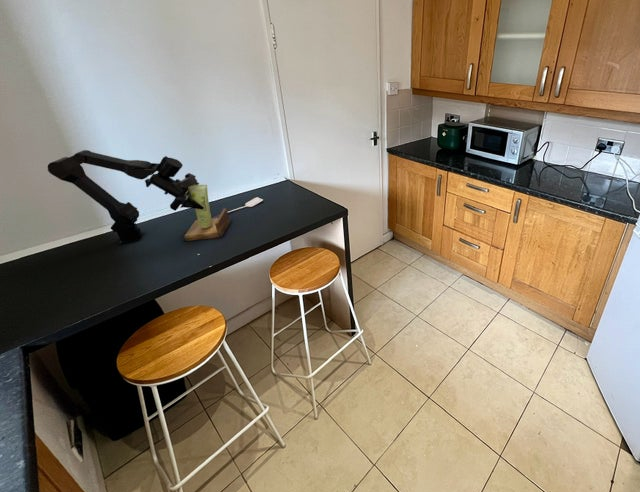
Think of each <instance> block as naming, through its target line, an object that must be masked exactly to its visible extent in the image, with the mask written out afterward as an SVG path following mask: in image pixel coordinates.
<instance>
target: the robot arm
mask: <svg viewBox="0 0 640 492" xmlns="http://www.w3.org/2000/svg"><path fill="white" fill-rule="evenodd" d="M82 164H86V165H89V166H95V167H100V168H104V169H108V170H113V171H118V172H122V173H124V174H125V175H127V176H128V177H130V178H134V179H136V180H144V183H145V187H146V188H149V187H150V186H152V185H153V186H154V187H156V188H158V189H160V190H162V191H163V192H164V193H163V194H164V195H168V194H169V195H171V196H172V197H173V198H174V199H173V201H172V202H171V203H170V205H169V207H170V209H171V210H173V211H174V212H176V211H177V210H178V209H179V208H181V209H182V208H186V209H194V210H195V209H203V208H204V207H203V206H202V205H200V204H199V203H197V202H196V201H194V200H193V199H192V196H191V194H190V191H189V188H188V187H190V186H193V185H200V183H199V182H198V180H197V179H196V177H197V176H196V175H194V174H193V173H190V172H188V173H186V174H185V175H184V178H183V179H182V180H180V179H179V178H176V179H174V178H175V176H177V174H178V173H179V172H180V170H181V169H182V168H183V163H182V162H181V161H180V160H178V159H176V158H174V157H168V156H166V155H165V156H163V157H162V158H161V160H160V162H158V163H157V162H150V161H148V160H140V159H130V160H129V159H123V158H119V157H116V156H115V157H114V156H110V155H107V154H102V153H98V152H94V151H90V150H88V149H83V150H80V151H77V152H76V153H74V154H73V155H71V156H64V157H61V158H58V159H56V160H54V161H51V162H48V164H47V172H48V173H49V174H50V175H52V176H54V178H57V179H58V180H60V181H63V182H66V183H69V184H70V183H71V184H73V185H74V186H76V188H78V189H79V190H80V191H82V192H83V193H84V194H85V195H87V196H88V197H90V199H92V200H93V201H95V202H96V203H97V204H98V205H100V206H101V207H103V209H105V210H106V211H107V212H108V214H109V216H110V219H111V220H112V221H113V222H114V223H113V224H112V225H111V226H110V230H111V231H112V232H113V233H117V236H118V238H119V240H120V241H119V244H120V245H121V244H126V243H133V242H138V241H140V238H141V237H142V235H143V231H142V230H141V228H140V226H139V225H138V224H137V223H136V222H138V218H140V211H139V210H138V207H136V206H134V205H133V204H132V203H131V202H130V201H127V202H126V203H124V202H121V201H119V200H118V199H116V198H115V197H114V196H113V195H111V193H109V192H108V191H107V190H105V189H104V188H103V187H101V186H100V185H99V184H98V183H97V182H95V181H94V180H93V179H92V178H90V177H89V176H88V175H87V174H86V171H85V170H84V167H83V166H82ZM149 176H150V177H149ZM148 177H149V178H148Z"/></svg>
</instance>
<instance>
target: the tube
mask: <svg viewBox="0 0 640 492" xmlns="http://www.w3.org/2000/svg"><path fill="white" fill-rule="evenodd" d="M188 188H189V191H190V194H191V196H192V199H193V200H194V201H196V202H197V203H199V204H200V205H202V206H203V207H204V208H203V209H195V208H194V210H195V215H196V218H197V220H198V222H199V226H200V228H208V227H211V226H212V219H211V218H212V213H211V208H210V202H209V201H210V200H209V195H208V194H209V193H208V184H198V185H193V186H190V187H188Z"/></svg>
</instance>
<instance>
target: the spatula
mask: <svg viewBox="0 0 640 492" xmlns="http://www.w3.org/2000/svg"><path fill="white" fill-rule="evenodd" d="M263 201H264V199H262V198H260V197H258V196H257V197H254V198H252V199H251V200H249V201H248V202H246V203H245V204H244V206H240V207H238V208H235V209H232V210H228V213H231V212H235V211H237V210H241V209H244V208H252V207H255V206H256V205H258V204H259V203H261V202H263ZM219 216H220V214H218V215H215V216H213V217H211V219H212V218H218V217H219Z"/></svg>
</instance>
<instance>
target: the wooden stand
mask: <svg viewBox="0 0 640 492" xmlns="http://www.w3.org/2000/svg"><path fill="white" fill-rule="evenodd" d="M219 215H220V216H219V217H218V218H213V217H211V218H212V226H211V227H208V228H200V226H199V222H198V219H195V220H194V222H192V223H193V224H191V226H190V228H189V229H188V230H187V231H186V233H185V234H184V239H185V242H189V241H197V240H208V239H217V238H223V236H224V235H225V232H226V230H227V228H228V226H229V225H230V224H231V223H230V222H231V219H230V216H229V211H228V209H227V208H225V207H224V208H223V209H222V211H221V212H220V214H219Z"/></svg>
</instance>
